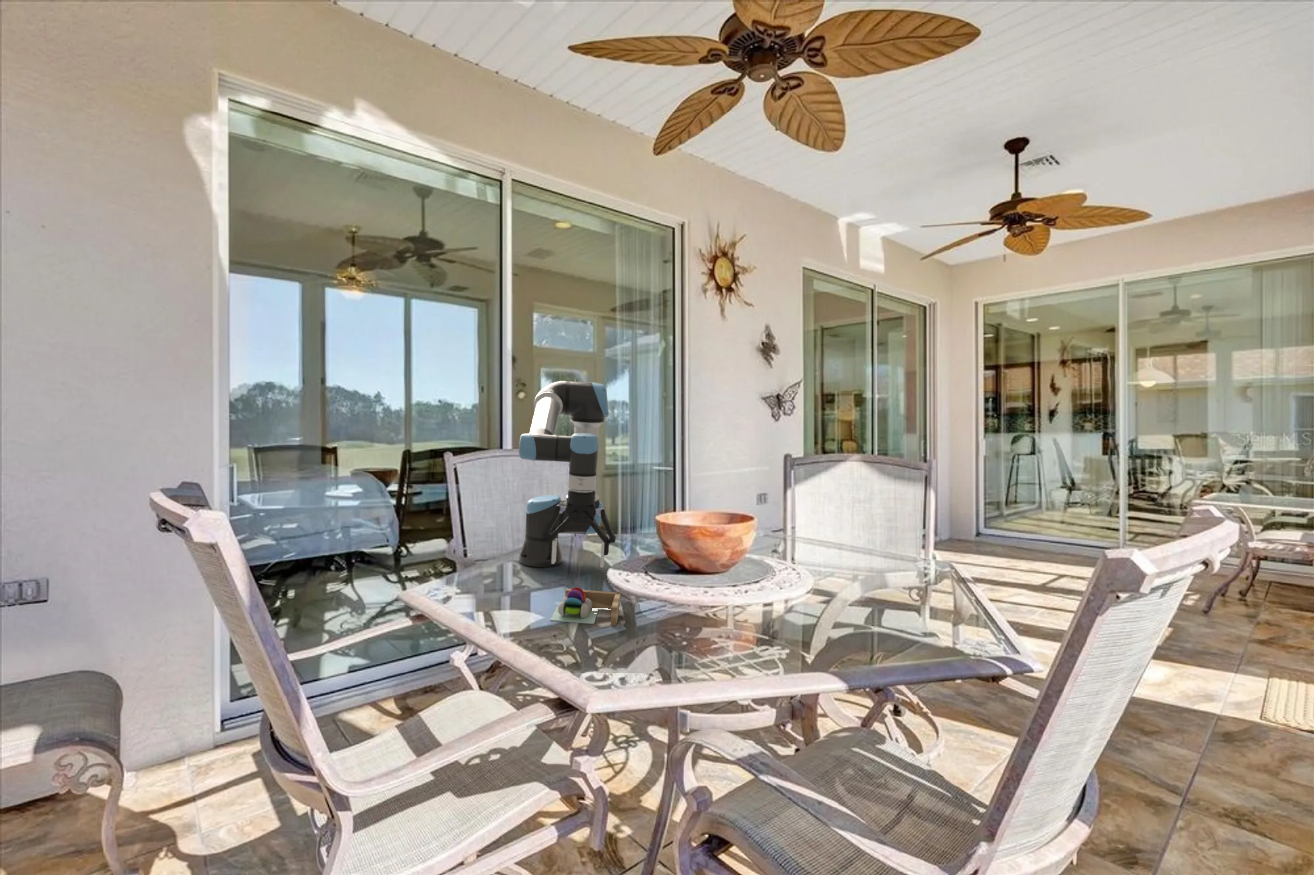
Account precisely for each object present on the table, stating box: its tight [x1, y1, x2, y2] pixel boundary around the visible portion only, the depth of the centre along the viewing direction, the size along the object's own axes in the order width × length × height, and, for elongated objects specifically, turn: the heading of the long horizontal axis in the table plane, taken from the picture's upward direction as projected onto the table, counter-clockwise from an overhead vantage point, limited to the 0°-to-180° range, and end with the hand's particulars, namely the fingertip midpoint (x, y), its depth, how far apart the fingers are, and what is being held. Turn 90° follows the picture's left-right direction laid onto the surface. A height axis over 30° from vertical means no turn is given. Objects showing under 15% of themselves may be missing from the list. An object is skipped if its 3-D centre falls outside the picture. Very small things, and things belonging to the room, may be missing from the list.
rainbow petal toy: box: [558, 586, 592, 618], centre depth 174 cm, size 8×10×7 cm
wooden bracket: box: [564, 588, 622, 626], centre depth 175 cm, size 12×16×5 cm
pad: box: [550, 605, 599, 625], centre depth 174 cm, size 10×12×1 cm
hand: (577, 564), depth 173 cm, fingers open, 13 cm apart
